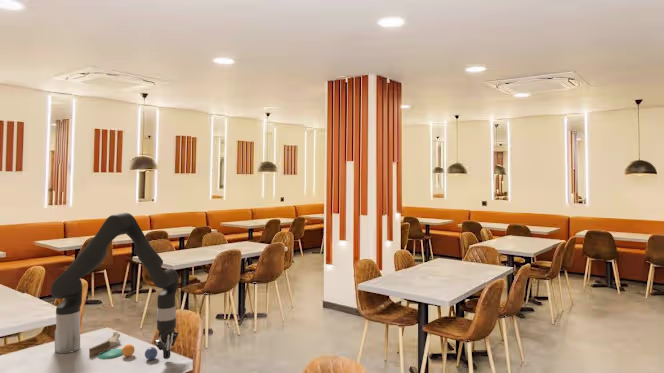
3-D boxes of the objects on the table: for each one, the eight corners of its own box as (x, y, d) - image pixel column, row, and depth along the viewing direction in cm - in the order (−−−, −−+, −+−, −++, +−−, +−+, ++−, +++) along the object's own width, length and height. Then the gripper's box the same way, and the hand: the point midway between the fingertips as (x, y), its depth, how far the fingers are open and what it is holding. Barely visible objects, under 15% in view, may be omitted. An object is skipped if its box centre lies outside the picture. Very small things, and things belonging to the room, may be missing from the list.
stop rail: (89, 356, 186) (89, 348, 186) (107, 348, 196) (107, 340, 196) (91, 356, 186) (91, 348, 186) (109, 348, 195) (109, 340, 195)
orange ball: (119, 357, 185) (119, 346, 185) (127, 353, 189) (127, 342, 189) (128, 359, 183) (128, 347, 183) (137, 354, 188) (137, 343, 188)
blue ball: (142, 360, 181) (142, 349, 181) (150, 356, 186) (150, 344, 186) (151, 362, 180) (151, 350, 180) (160, 357, 184) (159, 346, 184)
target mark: (91, 357, 185) (91, 357, 185) (111, 348, 196) (111, 347, 196) (111, 360, 182) (111, 359, 182) (131, 350, 192) (131, 350, 192)
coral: (106, 348, 196) (106, 339, 196) (106, 341, 205) (106, 332, 205) (120, 346, 198) (120, 336, 198) (119, 339, 207) (119, 330, 207)
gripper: (169, 312, 188) (169, 351, 188) (148, 321, 175) (148, 363, 175) (183, 313, 185) (184, 353, 186) (163, 323, 173) (163, 365, 173)
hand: (166, 358), depth 180 cm, fingers closed
